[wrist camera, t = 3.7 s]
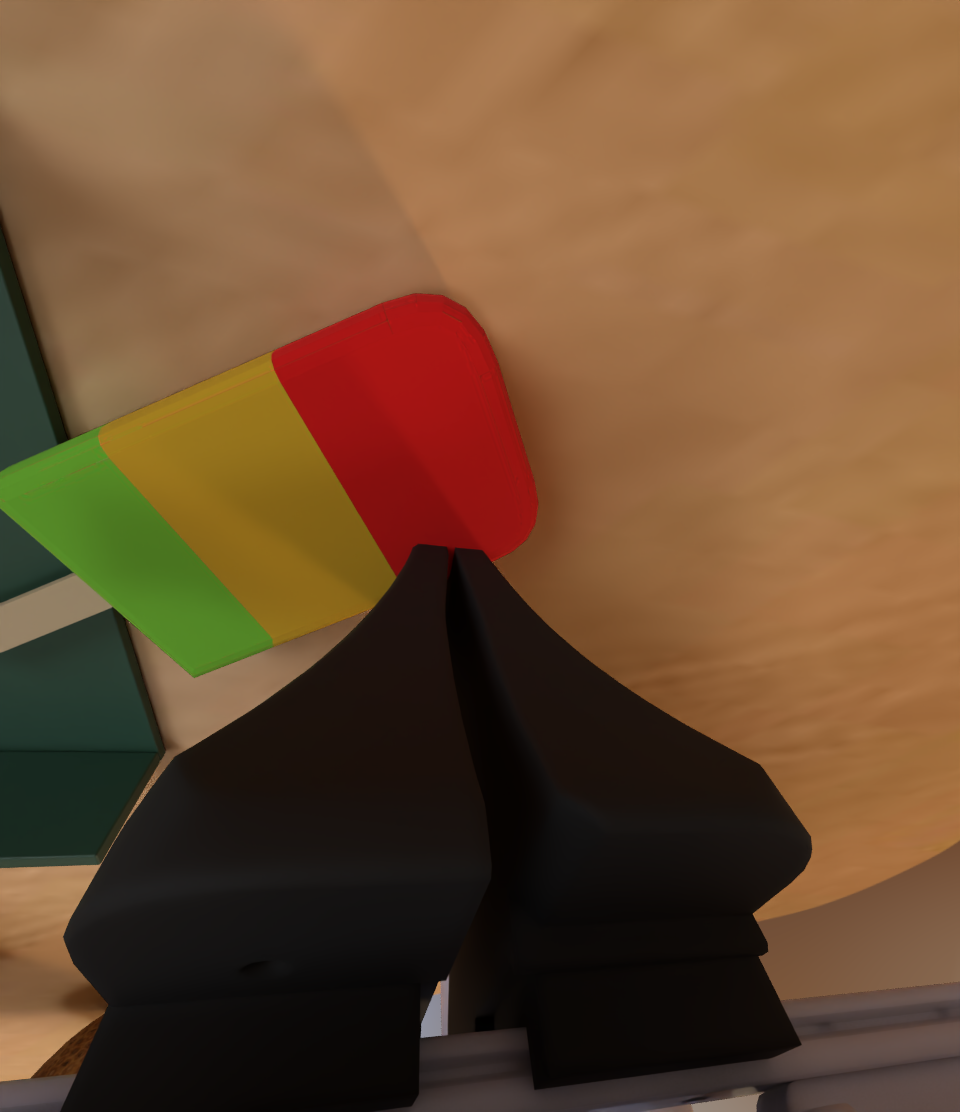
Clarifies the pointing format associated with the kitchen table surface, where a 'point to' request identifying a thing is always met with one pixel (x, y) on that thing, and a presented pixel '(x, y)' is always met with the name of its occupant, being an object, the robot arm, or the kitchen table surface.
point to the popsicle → (279, 488)
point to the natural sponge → (70, 1053)
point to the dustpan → (59, 661)
